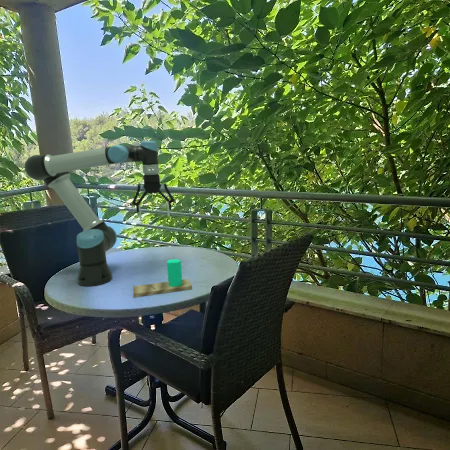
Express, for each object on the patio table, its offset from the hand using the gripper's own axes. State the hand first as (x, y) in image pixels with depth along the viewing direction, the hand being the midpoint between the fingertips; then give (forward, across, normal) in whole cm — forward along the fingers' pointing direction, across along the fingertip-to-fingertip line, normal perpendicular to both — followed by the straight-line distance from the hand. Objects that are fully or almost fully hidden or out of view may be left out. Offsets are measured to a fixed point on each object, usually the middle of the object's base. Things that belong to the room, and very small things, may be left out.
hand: (154, 217), depth 165 cm
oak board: (+27, -1, -28) cm, 39 cm away
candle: (+25, +5, -28) cm, 38 cm away
